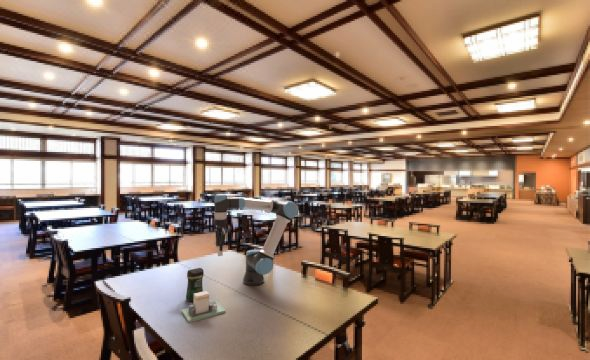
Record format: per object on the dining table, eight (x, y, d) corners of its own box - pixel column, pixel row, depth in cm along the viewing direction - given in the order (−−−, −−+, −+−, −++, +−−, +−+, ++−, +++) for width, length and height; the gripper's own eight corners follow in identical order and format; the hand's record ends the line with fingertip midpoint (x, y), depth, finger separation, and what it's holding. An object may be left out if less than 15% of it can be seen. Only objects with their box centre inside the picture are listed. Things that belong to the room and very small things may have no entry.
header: (208, 306, 156) (208, 298, 156) (212, 311, 151) (212, 303, 151) (188, 311, 150) (188, 303, 150) (192, 317, 144) (192, 308, 144)
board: (216, 303, 164) (216, 296, 164) (225, 312, 153) (225, 305, 153) (181, 311, 152) (181, 304, 152) (188, 322, 141) (188, 314, 141)
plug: (205, 308, 154) (206, 290, 154) (208, 311, 151) (209, 293, 151) (193, 311, 150) (193, 293, 150) (195, 315, 146) (196, 296, 146)
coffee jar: (190, 303, 163) (191, 272, 163) (184, 299, 168) (184, 269, 168) (205, 298, 170) (205, 268, 170) (198, 294, 175) (199, 265, 175)
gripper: (211, 217, 176) (210, 254, 176) (218, 220, 166) (218, 259, 166) (222, 217, 181) (221, 252, 181) (230, 219, 171) (230, 257, 171)
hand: (220, 255), depth 174 cm, fingers closed
